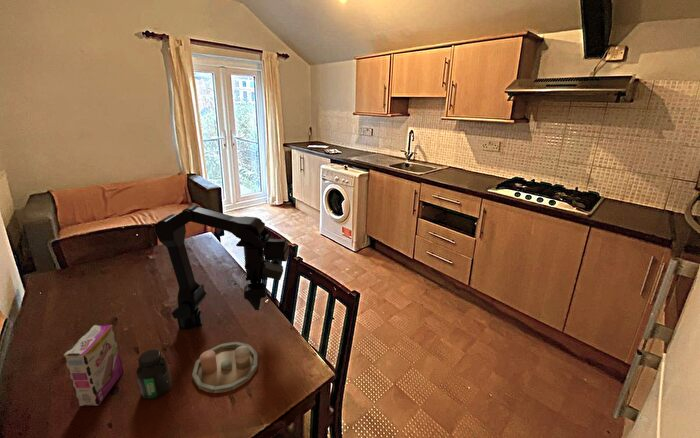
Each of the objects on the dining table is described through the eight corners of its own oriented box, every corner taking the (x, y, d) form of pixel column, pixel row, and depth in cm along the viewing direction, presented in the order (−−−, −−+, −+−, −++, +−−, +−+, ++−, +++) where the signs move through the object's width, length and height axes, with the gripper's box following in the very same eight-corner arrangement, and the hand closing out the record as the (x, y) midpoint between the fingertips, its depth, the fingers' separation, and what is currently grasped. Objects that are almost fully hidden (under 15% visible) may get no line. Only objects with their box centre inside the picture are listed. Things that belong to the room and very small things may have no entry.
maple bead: (250, 368, 93) (248, 354, 91) (235, 370, 92) (233, 356, 90) (250, 358, 96) (249, 344, 95) (236, 360, 96) (235, 346, 94)
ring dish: (187, 400, 83) (186, 394, 83) (200, 352, 99) (199, 346, 98) (257, 389, 88) (256, 383, 87) (258, 344, 103) (258, 338, 103)
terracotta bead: (200, 376, 90) (198, 362, 88) (203, 365, 93) (201, 351, 92) (216, 373, 91) (214, 359, 89) (218, 363, 94) (216, 349, 92)
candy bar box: (100, 406, 81) (84, 355, 75) (79, 407, 81) (61, 355, 75) (125, 371, 92) (113, 323, 86) (106, 371, 91) (92, 324, 85)
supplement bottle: (157, 405, 82) (148, 369, 78) (136, 398, 84) (126, 362, 79) (178, 384, 88) (171, 349, 84) (158, 378, 90) (150, 343, 86)
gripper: (282, 271, 93) (284, 316, 98) (280, 244, 110) (281, 283, 115) (241, 274, 90) (246, 320, 96) (245, 246, 107) (249, 286, 113)
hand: (257, 301), depth 105 cm, fingers open, 9 cm apart
